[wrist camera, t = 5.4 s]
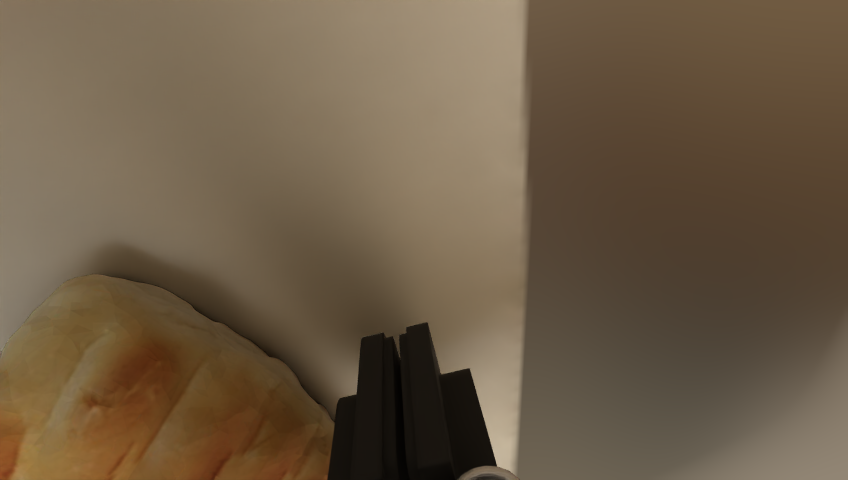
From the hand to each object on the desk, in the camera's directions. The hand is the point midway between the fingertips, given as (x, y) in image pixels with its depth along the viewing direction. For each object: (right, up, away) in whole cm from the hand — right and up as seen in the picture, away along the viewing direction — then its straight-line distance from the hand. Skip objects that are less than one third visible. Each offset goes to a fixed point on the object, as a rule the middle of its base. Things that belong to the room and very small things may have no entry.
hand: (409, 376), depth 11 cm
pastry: (-6, -1, +1) cm, 6 cm away
